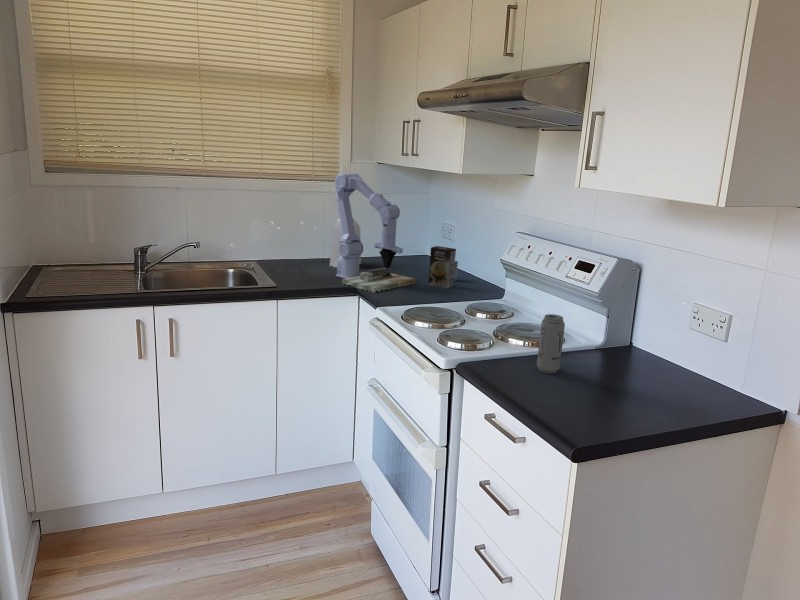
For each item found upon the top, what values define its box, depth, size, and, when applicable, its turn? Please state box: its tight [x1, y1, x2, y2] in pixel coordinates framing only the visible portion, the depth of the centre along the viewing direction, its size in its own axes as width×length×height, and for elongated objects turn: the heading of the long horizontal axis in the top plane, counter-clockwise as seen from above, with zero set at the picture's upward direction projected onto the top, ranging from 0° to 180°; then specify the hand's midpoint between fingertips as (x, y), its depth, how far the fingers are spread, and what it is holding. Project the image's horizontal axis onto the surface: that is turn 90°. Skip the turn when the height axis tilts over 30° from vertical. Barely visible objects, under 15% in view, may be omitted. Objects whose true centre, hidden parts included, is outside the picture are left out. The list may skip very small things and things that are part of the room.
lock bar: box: [367, 267, 392, 277], centre depth 255 cm, size 12×3×3 cm, turn 135°
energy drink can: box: [536, 313, 566, 374], centre depth 162 cm, size 6×6×15 cm
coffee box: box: [428, 245, 457, 289], centre depth 253 cm, size 9×6×16 cm
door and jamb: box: [341, 271, 417, 293], centre depth 252 cm, size 18×26×5 cm
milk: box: [329, 217, 362, 268], centre depth 283 cm, size 12×12×26 cm
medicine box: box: [453, 260, 459, 283], centre depth 265 cm, size 8×4×9 cm, turn 76°
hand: (387, 267), depth 249 cm, fingers closed
